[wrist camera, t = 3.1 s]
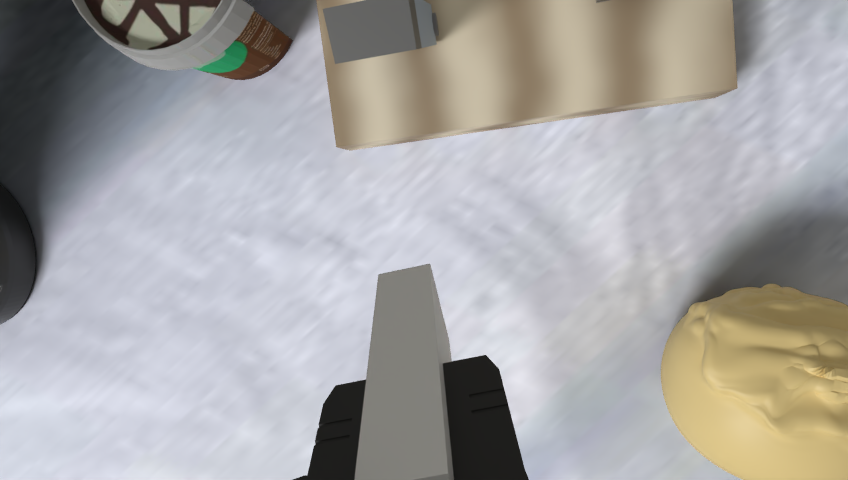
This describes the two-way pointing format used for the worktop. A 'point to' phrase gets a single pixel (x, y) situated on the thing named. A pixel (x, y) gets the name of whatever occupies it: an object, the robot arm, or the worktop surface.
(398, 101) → the switch board
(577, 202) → the worktop surface
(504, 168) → the worktop surface
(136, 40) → the food container
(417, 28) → the lever
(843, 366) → the pale yellow wrinkled ball
